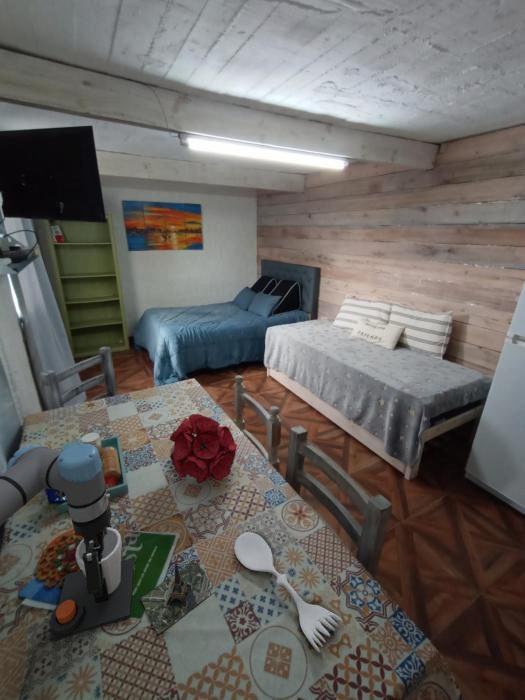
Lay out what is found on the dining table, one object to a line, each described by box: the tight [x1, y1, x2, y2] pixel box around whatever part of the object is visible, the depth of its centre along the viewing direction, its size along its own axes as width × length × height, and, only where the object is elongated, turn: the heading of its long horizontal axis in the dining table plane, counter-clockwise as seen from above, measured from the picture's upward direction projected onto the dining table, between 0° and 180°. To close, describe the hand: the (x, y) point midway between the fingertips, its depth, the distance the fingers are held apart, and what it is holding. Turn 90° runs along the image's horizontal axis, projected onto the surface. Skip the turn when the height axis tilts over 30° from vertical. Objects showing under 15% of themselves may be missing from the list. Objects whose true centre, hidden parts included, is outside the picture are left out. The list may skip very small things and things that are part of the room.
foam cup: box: [75, 527, 123, 594], centre depth 76 cm, size 10×9×13 cm
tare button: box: [56, 600, 76, 624], centre depth 70 cm, size 4×4×2 cm
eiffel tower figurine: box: [140, 558, 217, 635], centre depth 75 cm, size 15×10×13 cm
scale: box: [48, 557, 135, 642], centre depth 75 cm, size 16×14×3 cm
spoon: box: [233, 531, 344, 653], centre depth 79 cm, size 9×32×4 cm, turn 41°
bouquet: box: [168, 413, 238, 485], centre depth 113 cm, size 22×24×30 cm
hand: (105, 578), depth 77 cm, fingers closed on foam cup, 9 cm apart
